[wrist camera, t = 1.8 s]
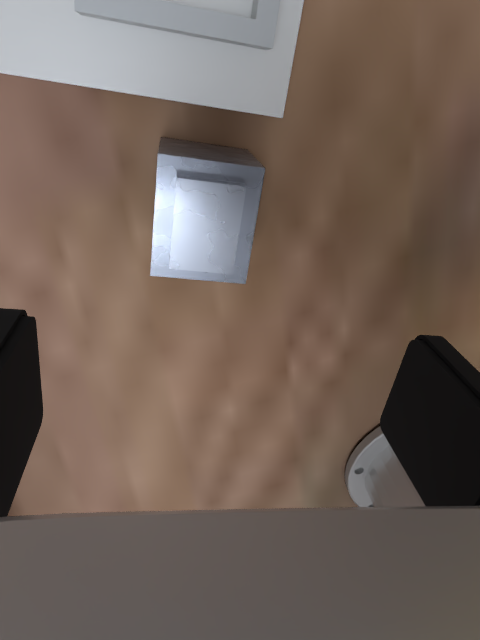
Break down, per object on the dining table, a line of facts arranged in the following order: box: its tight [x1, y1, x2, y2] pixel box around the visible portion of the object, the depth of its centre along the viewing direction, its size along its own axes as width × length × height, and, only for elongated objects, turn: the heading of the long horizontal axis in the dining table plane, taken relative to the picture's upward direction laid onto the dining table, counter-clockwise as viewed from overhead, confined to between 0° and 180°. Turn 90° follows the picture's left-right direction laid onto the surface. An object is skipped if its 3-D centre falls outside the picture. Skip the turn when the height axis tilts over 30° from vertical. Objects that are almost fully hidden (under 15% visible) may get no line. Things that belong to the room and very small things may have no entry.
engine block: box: [150, 137, 265, 284], centre depth 24 cm, size 5×6×7 cm
